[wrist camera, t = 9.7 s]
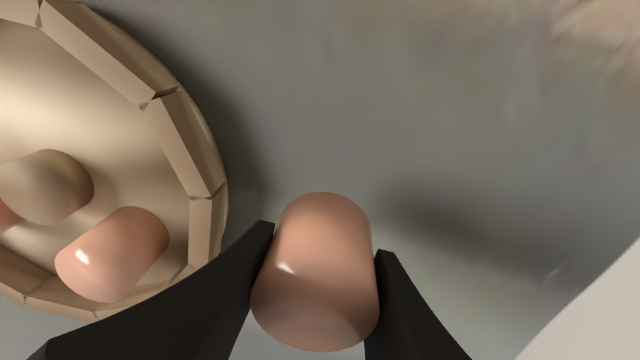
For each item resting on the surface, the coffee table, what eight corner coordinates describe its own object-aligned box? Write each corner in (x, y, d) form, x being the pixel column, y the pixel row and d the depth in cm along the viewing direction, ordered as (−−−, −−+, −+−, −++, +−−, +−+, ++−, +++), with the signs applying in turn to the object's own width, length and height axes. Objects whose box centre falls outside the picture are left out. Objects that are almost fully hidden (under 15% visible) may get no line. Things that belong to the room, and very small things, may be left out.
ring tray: (275, 267, 21) (265, 299, 18) (56, 305, 25) (23, 335, 22) (107, -90, 12) (45, -122, 10) (-176, 58, 17) (-269, 62, 14)
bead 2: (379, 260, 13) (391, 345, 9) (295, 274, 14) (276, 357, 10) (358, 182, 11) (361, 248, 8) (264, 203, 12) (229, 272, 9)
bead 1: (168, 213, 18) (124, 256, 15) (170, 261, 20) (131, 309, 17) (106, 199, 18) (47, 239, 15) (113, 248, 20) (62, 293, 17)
